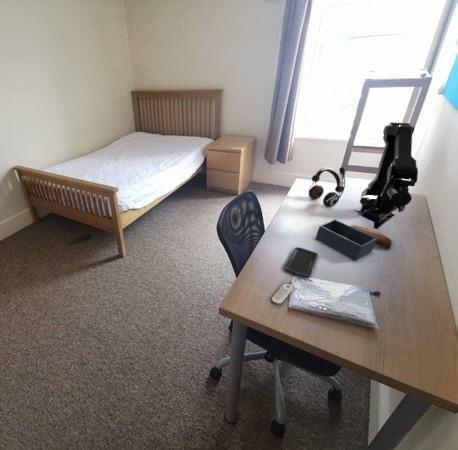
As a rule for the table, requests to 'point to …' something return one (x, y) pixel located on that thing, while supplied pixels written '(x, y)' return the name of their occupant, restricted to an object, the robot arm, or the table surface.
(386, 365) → the table surface
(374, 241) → the box
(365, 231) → the sunglasses case
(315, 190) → the headset
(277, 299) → the keychain
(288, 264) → the phone
